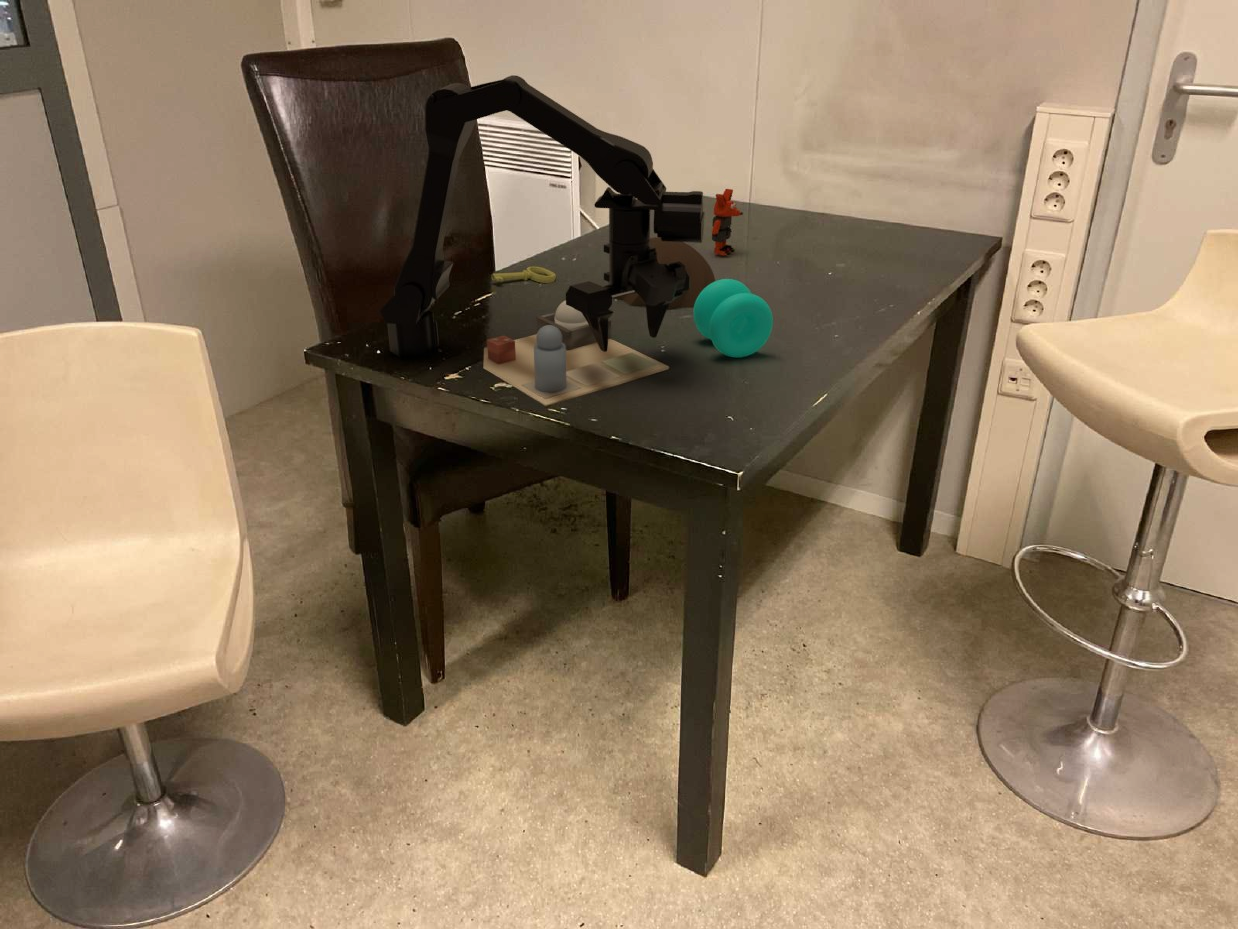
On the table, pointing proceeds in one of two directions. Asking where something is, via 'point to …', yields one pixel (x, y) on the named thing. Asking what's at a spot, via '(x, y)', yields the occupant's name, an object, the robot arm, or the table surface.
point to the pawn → (550, 360)
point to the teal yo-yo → (733, 318)
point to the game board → (568, 362)
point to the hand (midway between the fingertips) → (628, 343)
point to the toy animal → (723, 222)
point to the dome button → (569, 317)
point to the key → (527, 275)
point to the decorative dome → (694, 266)
